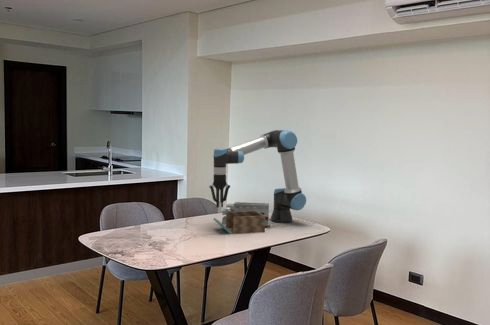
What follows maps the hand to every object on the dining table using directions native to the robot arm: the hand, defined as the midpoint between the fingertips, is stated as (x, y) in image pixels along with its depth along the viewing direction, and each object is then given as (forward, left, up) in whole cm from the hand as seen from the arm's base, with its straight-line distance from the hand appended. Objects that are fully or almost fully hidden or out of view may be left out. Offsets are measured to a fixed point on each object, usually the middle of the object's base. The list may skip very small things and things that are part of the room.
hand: (219, 212), depth 269 cm
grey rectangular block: (-23, -17, -13) cm, 31 cm away
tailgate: (-6, 0, -12) cm, 13 cm away
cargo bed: (-17, 0, -13) cm, 21 cm away
